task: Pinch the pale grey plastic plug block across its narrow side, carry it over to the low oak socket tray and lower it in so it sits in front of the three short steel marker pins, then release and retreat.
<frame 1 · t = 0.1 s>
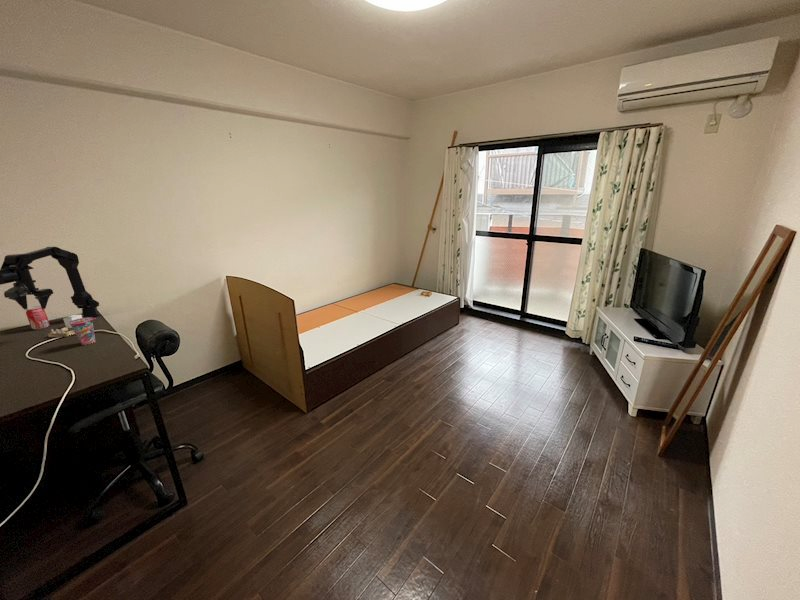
hand: (35, 309, 165), 15 cm above the table, fingers open, 9 cm apart
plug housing: (75, 326, 181), on the table
soda can: (41, 328, 180), on the table
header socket: (67, 332, 172), on the table
cup: (89, 342, 159), on the table
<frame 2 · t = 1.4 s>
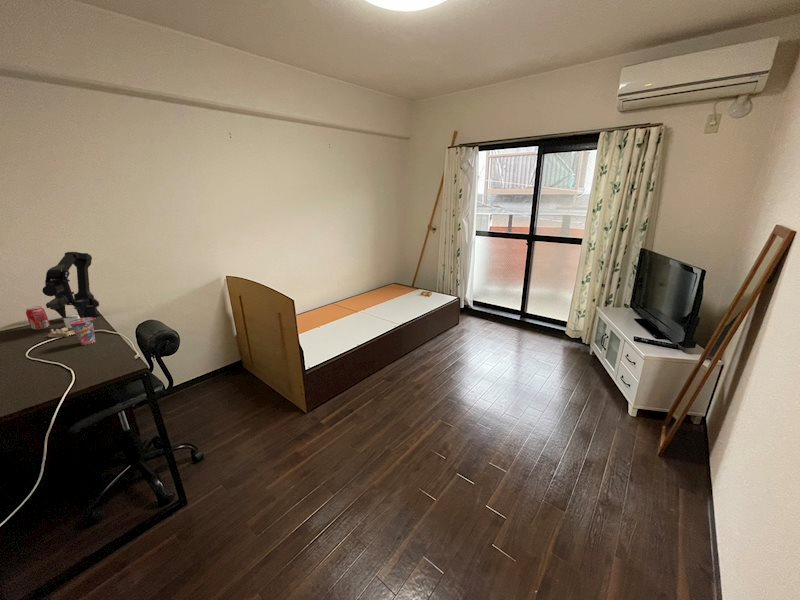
hand: (73, 318, 180), 5 cm above the table, fingers open, 9 cm apart
nothing on the table moved.
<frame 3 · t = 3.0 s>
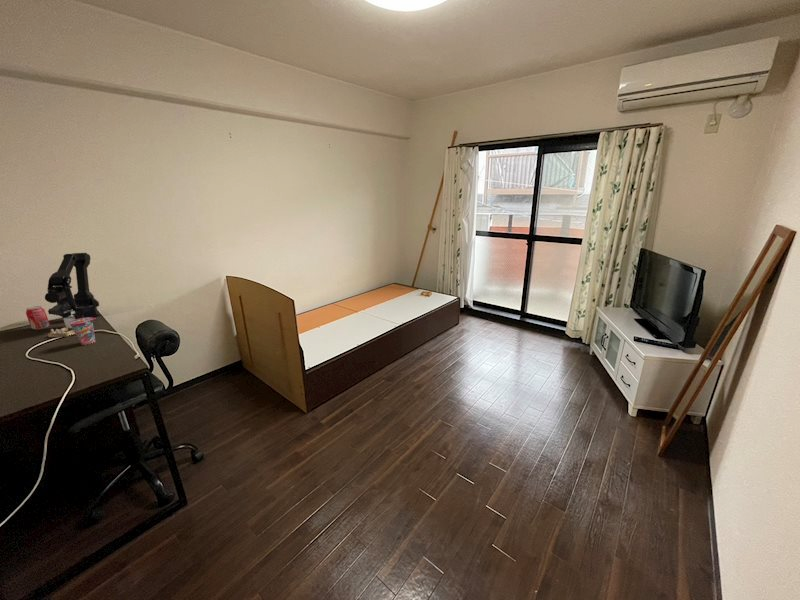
hand: (75, 324, 181), 1 cm above the table, fingers closed on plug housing, 4 cm apart
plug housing: (75, 326, 181), on the table, touching gripper
everything else where it was.
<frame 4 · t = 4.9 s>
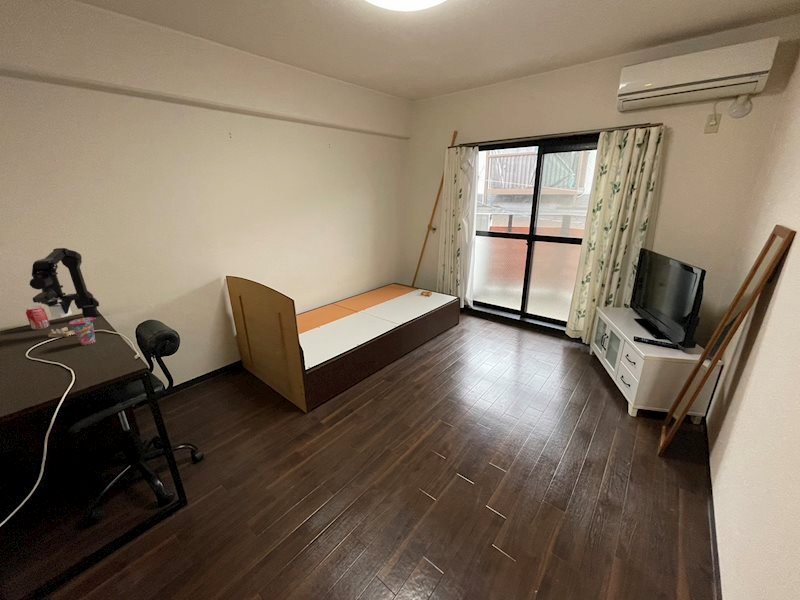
hand: (61, 313, 169), 11 cm above the table, fingers closed on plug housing, 4 cm apart
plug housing: (62, 315, 169), point 10 cm above the table, touching gripper
everything else where it was.
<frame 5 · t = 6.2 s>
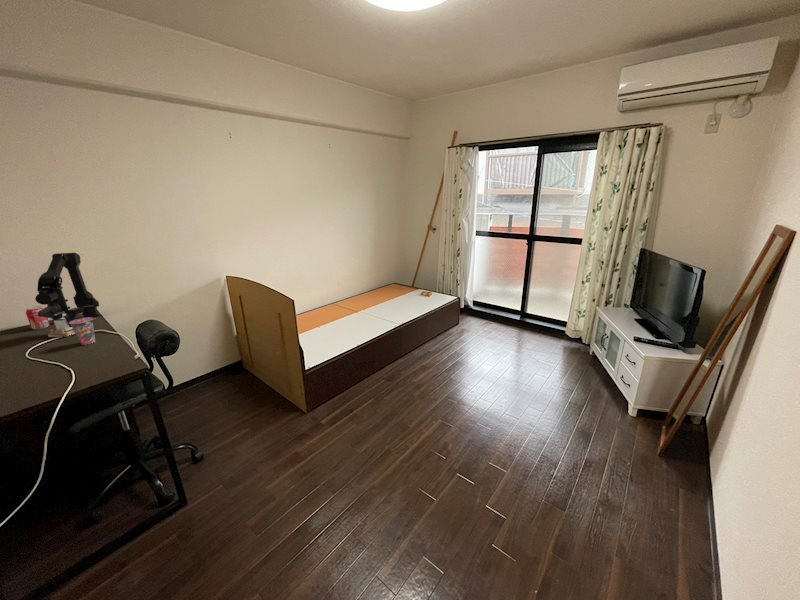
hand: (66, 327, 171), 3 cm above the table, fingers closed on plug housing, 4 cm apart
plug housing: (67, 329, 172), point 2 cm above the table, touching gripper
everything else where it was.
when the fingers open (3 cm above the table, at t = 7.0 s): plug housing drops 2 cm, on the table.
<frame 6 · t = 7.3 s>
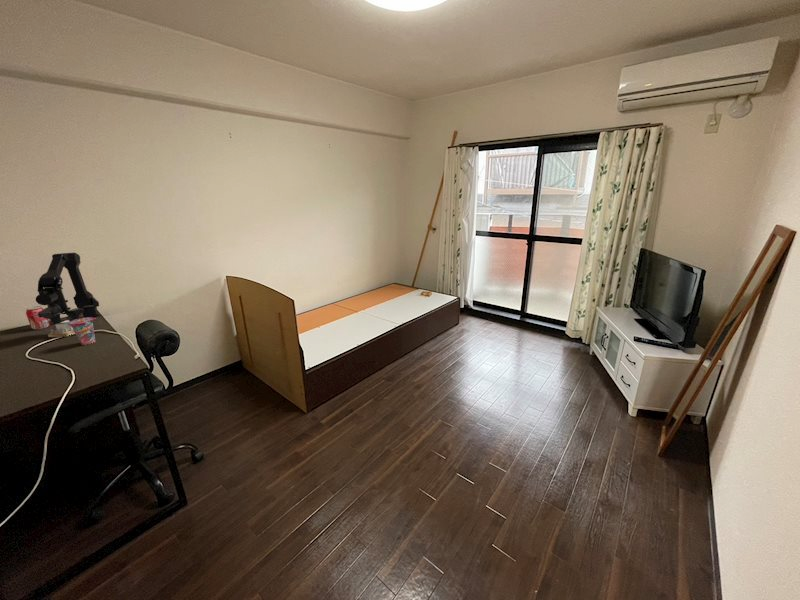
hand: (66, 327, 171), 3 cm above the table, fingers open, 7 cm apart
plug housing: (68, 332, 172), on the table
everything else where it was.
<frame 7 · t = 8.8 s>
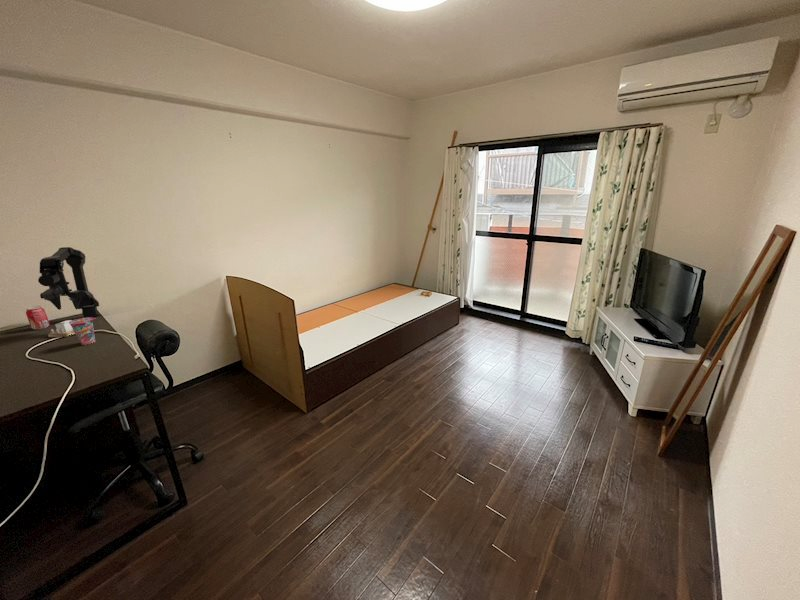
hand: (68, 309, 174), 11 cm above the table, fingers open, 9 cm apart
nothing on the table moved.
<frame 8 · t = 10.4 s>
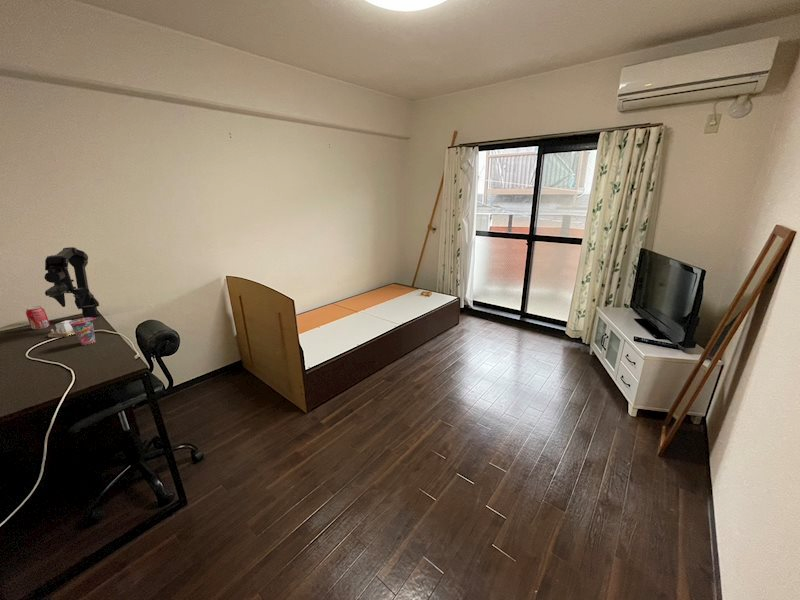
hand: (72, 306, 177), 12 cm above the table, fingers open, 9 cm apart
nothing on the table moved.
at the end: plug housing 0.2 cm off-centre on the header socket, point 0.0 cm above the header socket's base; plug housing tilted 0°; the gripper is holding nothing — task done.
